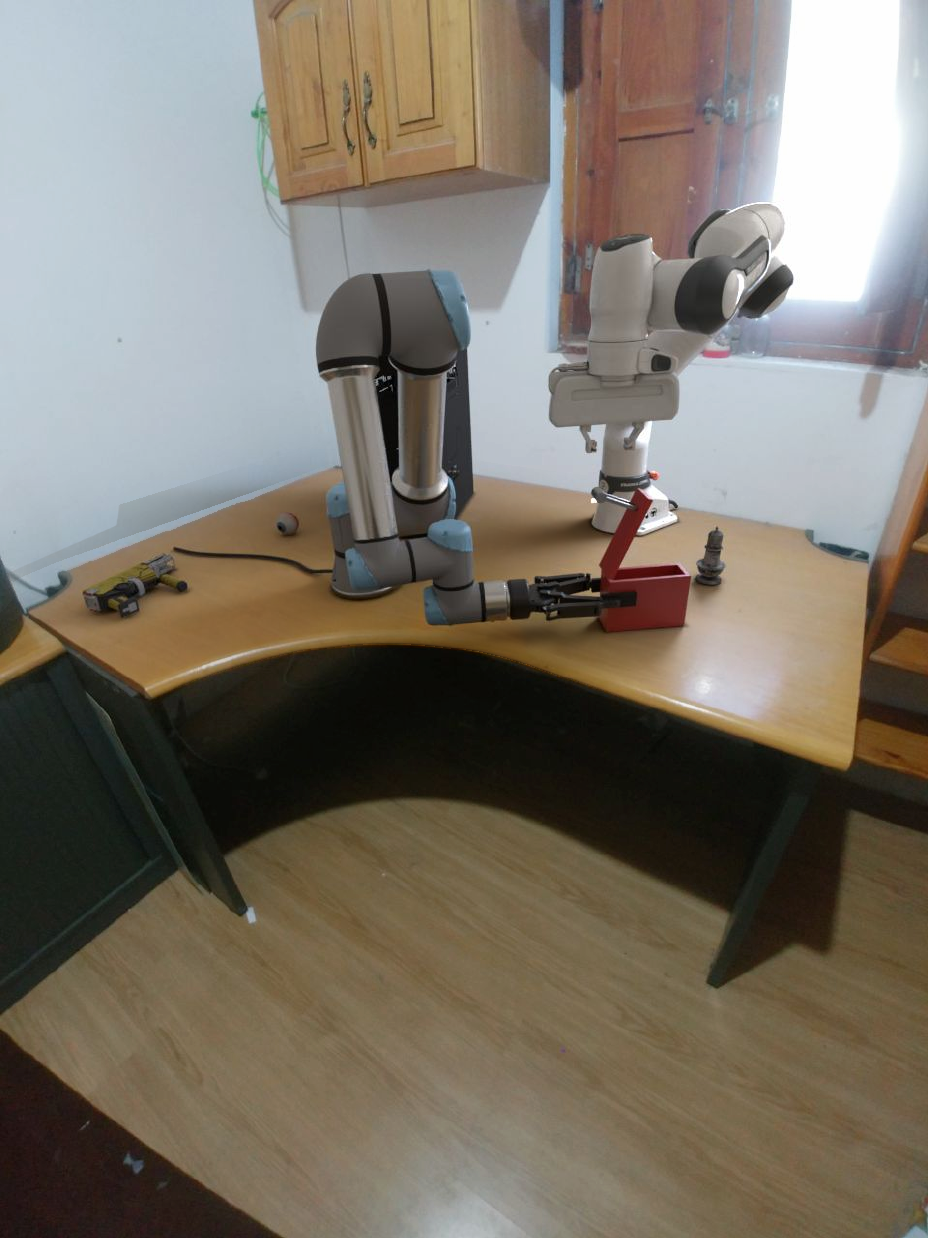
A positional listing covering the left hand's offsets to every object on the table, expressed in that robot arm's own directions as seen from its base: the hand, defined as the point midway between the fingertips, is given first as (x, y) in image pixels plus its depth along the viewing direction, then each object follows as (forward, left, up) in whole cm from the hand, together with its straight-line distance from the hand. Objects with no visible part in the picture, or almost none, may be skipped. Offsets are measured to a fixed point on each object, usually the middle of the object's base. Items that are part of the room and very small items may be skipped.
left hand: (630, 590), depth 112 cm
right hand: (-5, -2, +26) cm, 27 cm away
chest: (+2, +1, -7) cm, 7 cm away
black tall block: (-64, +46, -7) cm, 79 cm away
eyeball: (-94, +22, -7) cm, 97 cm away
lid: (-1, -1, +11) cm, 11 cm away
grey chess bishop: (+14, +23, -7) cm, 28 cm away
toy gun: (-104, -16, -7) cm, 105 cm away
